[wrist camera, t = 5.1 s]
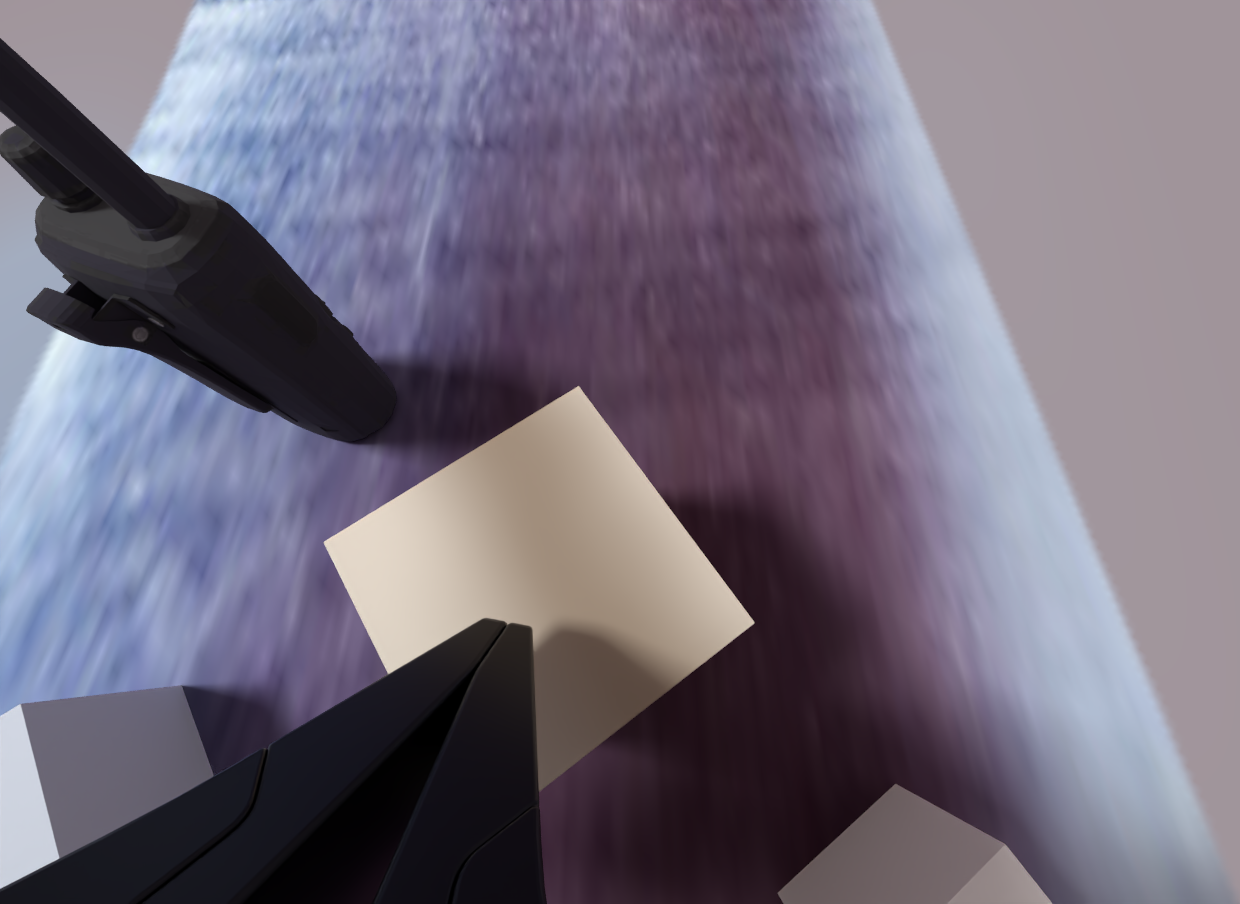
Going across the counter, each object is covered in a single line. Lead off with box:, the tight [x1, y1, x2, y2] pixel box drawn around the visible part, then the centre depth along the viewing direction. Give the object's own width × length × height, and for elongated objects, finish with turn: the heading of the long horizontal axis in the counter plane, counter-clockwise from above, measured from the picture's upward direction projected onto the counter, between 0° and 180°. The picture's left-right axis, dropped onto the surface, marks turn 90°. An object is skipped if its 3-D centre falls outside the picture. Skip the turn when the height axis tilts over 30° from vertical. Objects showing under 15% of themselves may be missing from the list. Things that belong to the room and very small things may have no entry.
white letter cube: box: [0, 685, 214, 888], centre depth 14 cm, size 5×5×5 cm
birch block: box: [324, 386, 755, 791], centre depth 14 cm, size 6×6×9 cm
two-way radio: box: [0, 38, 396, 441], centre depth 14 cm, size 6×4×15 cm
